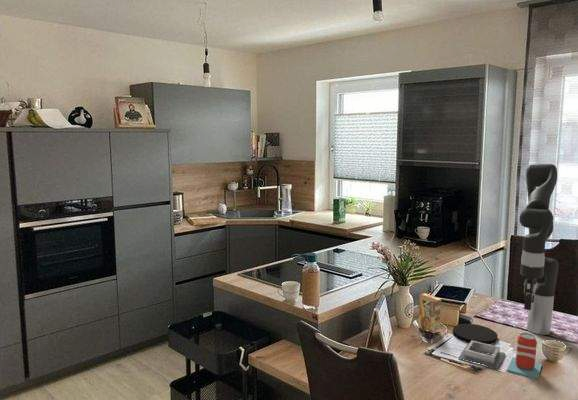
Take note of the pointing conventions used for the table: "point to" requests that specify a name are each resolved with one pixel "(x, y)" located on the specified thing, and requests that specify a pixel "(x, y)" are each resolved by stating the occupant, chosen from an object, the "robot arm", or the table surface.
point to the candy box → (429, 312)
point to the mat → (529, 373)
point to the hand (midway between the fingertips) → (528, 305)
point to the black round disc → (474, 333)
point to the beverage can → (526, 351)
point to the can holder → (481, 358)
